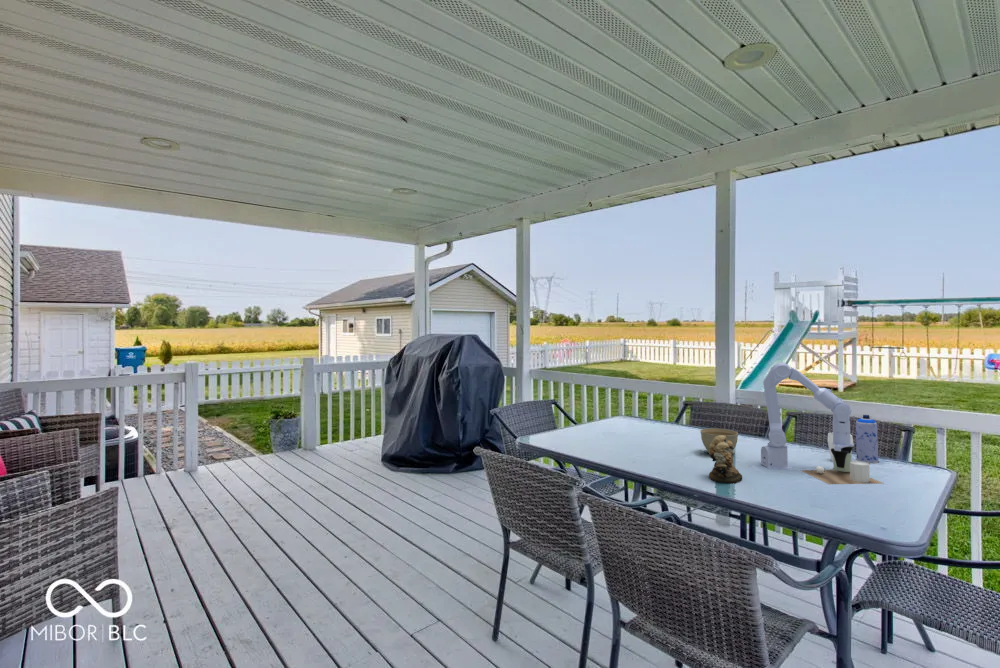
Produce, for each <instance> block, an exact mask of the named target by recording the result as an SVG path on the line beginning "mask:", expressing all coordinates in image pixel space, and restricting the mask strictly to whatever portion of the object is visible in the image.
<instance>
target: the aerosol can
mask: <svg viewBox="0 0 1000 668" xmlns="http://www.w3.org/2000/svg"><path fill="white" fill-rule="evenodd" d="M878 437H879V436H878V422H876V420H875V419H872V418H871V417H870V414H862V417H860V418H858V419H857V420H856V421H855V443H856V446H855V448H856V449H855V451H856V459H855V461H862V462H866V463H869V464H879V463H880V461H879V438H878Z"/></svg>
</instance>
